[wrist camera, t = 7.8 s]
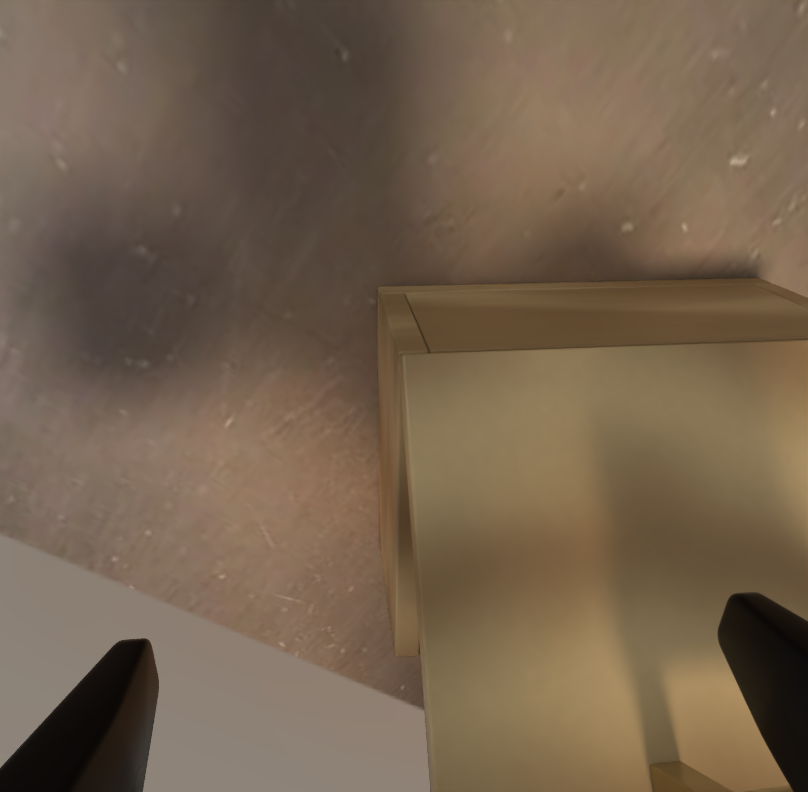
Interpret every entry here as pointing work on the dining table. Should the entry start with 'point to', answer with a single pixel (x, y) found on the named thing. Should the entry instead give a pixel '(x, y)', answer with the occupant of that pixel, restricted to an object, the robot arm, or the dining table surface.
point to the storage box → (542, 329)
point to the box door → (600, 558)
